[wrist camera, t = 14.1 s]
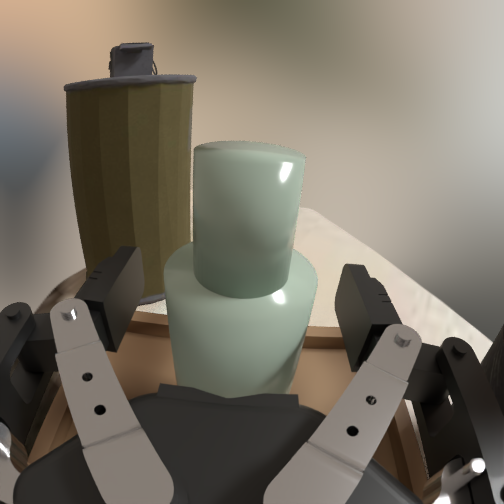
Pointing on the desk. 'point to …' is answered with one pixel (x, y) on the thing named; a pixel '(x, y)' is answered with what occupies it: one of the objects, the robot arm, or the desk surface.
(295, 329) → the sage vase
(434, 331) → the desk surface
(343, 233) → the desk surface
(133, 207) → the canister
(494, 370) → the travel mug
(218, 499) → the robot arm
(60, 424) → the walnut tray
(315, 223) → the desk surface
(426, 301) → the desk surface
